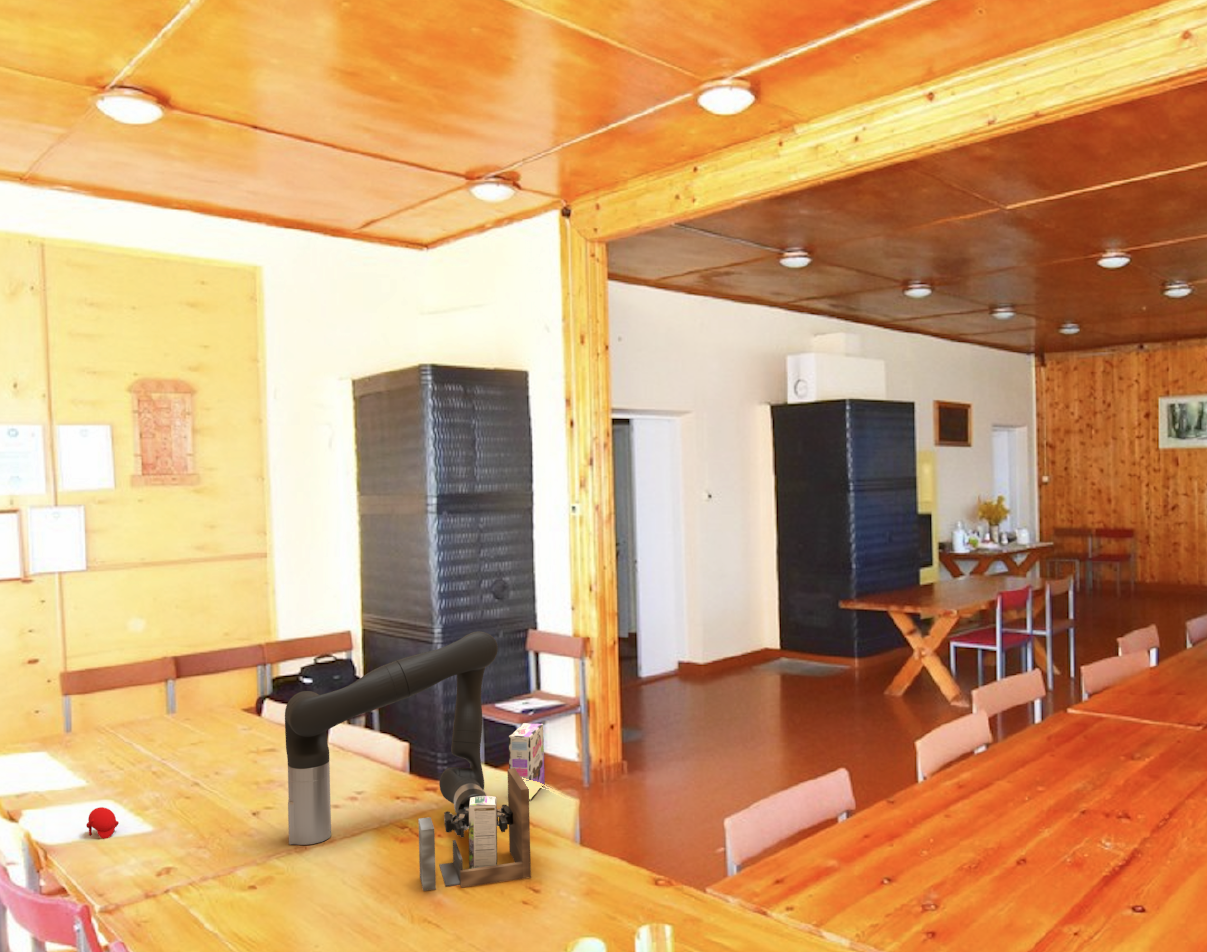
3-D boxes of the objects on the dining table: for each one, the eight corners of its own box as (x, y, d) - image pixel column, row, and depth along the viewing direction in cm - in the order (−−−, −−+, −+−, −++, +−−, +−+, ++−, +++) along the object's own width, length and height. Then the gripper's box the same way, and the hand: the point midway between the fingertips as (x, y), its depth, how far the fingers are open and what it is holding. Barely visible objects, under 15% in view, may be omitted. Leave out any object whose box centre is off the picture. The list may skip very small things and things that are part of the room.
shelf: (423, 893, 185) (421, 801, 185) (416, 864, 200) (414, 779, 200) (530, 877, 191) (528, 788, 191) (516, 850, 206) (514, 768, 206)
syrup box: (470, 865, 198) (468, 796, 198) (498, 863, 199) (496, 794, 199) (469, 876, 193) (467, 805, 193) (498, 874, 193) (496, 803, 193)
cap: (79, 820, 223) (81, 813, 219) (104, 805, 227) (107, 798, 223) (96, 848, 222) (99, 842, 217) (121, 833, 226) (124, 826, 221)
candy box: (531, 801, 238) (529, 736, 238) (509, 800, 239) (507, 735, 239) (545, 784, 251) (544, 722, 251) (524, 783, 252) (522, 722, 253)
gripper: (439, 791, 207) (448, 816, 192) (503, 784, 211) (516, 807, 196) (440, 826, 207) (449, 853, 192) (503, 818, 211) (517, 843, 196)
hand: (483, 830), depth 194 cm, fingers open, 8 cm apart
